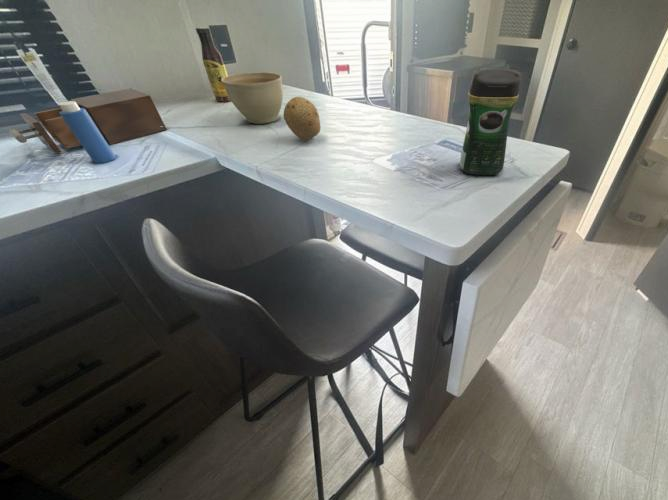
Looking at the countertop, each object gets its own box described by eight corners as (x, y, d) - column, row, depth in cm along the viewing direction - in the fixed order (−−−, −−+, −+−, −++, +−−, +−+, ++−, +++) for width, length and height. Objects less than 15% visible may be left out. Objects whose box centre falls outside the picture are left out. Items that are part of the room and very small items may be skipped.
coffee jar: (499, 162, 74) (520, 65, 60) (503, 177, 68) (528, 74, 55) (458, 161, 74) (470, 64, 61) (459, 175, 69) (472, 73, 55)
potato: (292, 134, 88) (282, 92, 80) (324, 133, 88) (317, 91, 81) (287, 146, 81) (276, 102, 74) (322, 145, 82) (314, 101, 75)
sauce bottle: (212, 101, 111) (184, 27, 96) (223, 97, 115) (198, 25, 101) (229, 103, 110) (203, 28, 95) (239, 98, 114) (216, 26, 100)
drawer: (33, 159, 74) (7, 128, 69) (21, 148, 79) (-4, 118, 74) (117, 138, 84) (99, 109, 79) (101, 129, 89) (83, 101, 84)
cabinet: (110, 144, 83) (87, 107, 77) (93, 134, 88) (70, 99, 82) (167, 129, 91) (149, 95, 85) (148, 121, 96) (130, 88, 90)
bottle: (97, 164, 74) (57, 107, 65) (90, 159, 76) (50, 103, 67) (119, 158, 76) (82, 102, 68) (111, 154, 78) (75, 98, 70)
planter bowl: (290, 126, 92) (280, 82, 85) (232, 130, 90) (216, 85, 82) (290, 110, 103) (281, 70, 96) (239, 113, 101) (225, 72, 93)
